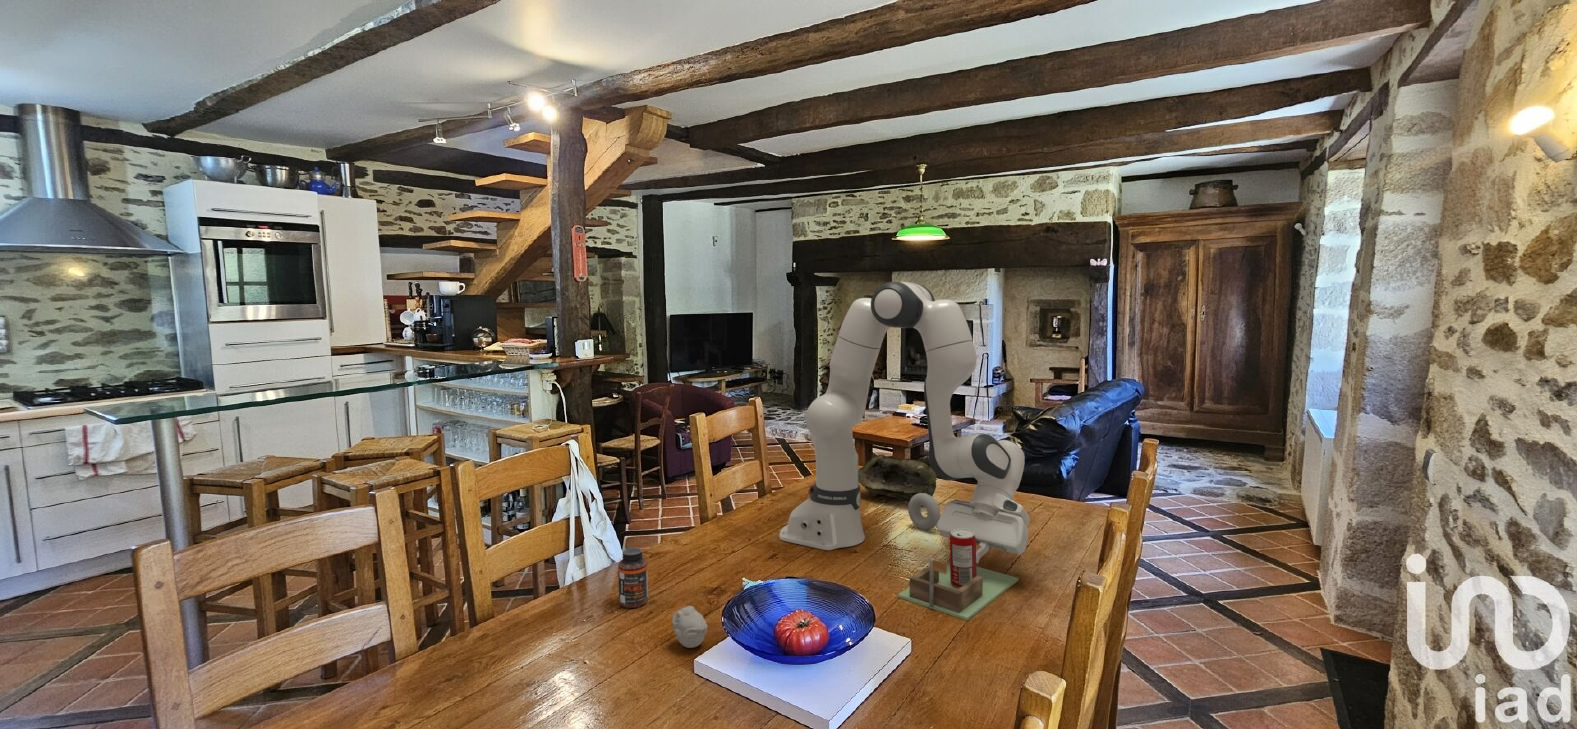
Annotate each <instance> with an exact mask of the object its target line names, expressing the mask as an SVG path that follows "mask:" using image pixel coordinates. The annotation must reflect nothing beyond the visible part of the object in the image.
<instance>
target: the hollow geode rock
mask: <svg viewBox="0 0 1577 729" xmlns="http://www.w3.org/2000/svg"><path fill="white" fill-rule="evenodd" d="M937 478H939V477H938V476H937V475H936V474H935V473H934V471H933V470H932V468H931V466H930V464H927V463H926V462H925V461H923V460H918V459H915V458H895V457H893V456H891V457H890V456H885V455H884V454H878V455H874V456H873V457H870V459H869V460H868V461H867V462H866V463H865V465H864V466H862V467H860V468H858V479H859V485H860V486H863V487H864V489H866V490H867V491H868V492H869V495H870V497H876V496H877V495H883V496H887V497H893V498H897V499H898V500H899V501H900V502H901V501H902V502H905V503H908V504H909V502H910V500H911V498H912V497H913V496H914V495H916V494H918V493H926V494H928V495H930V496H932V497H933V495H934V494H935V491H936V488H937V481H938V479H937ZM922 507H923V508H925V507H924V506H921V508H922Z"/></svg>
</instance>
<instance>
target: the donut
mask: <svg viewBox="0 0 1577 729" xmlns="http://www.w3.org/2000/svg"><path fill="white" fill-rule="evenodd" d="M922 506H924V507H923V508H925V510H926V512H927V514H926V517H925V516H924V515H923V514H922V511H921V510H922V509H921V508H922ZM907 509H908V510H907V511H908V516H909V518H910V520H911V522H912V523H913V524H914V525H915V526H916V527H917V528H919V529H920V530H922V531H929V530H932V529H934V528H935V527H936V525H937V522H938V520H939V518H940V516H941V509H940V505H939V504H938V502H937V501H936V499H935V498H934V497H933V496H930V495H928V494H926V493H918V494H916V495H914V496H913V497H912V498H911V500H910V502H909V503H908V505H907Z"/></svg>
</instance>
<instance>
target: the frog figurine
mask: <svg viewBox="0 0 1577 729" xmlns="http://www.w3.org/2000/svg"><path fill="white" fill-rule="evenodd" d="M671 625H672V628H673V632H674V635H676V637H677V638H676V639H677V641H678V642H679V644H681V645H682V646H683V647H684V648H689V649H694V648H696V647H698V646H700V645H701V644H702V642H703V641H704V640H705V636H706V634H707V633H708V628H709V627H708V624H707V621H706V620H705V618H704V616H703V615H702V614H701V613H700V612H699V611H698V610H696V609H695V607H694V606H692V605H688V606H686V607H682V608H680V609H679V610H677V611H675V613H674V614H673V616H672V621H671Z"/></svg>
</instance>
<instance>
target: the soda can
mask: <svg viewBox="0 0 1577 729" xmlns="http://www.w3.org/2000/svg"><path fill="white" fill-rule="evenodd" d="M976 551H977V544H976V538H975V535H974V532H973V531H972V530H969V529H963V528H960V529H954V530H952V531H951V535H950V538H949V562H950V579H951V583H952V584H953V585H954V586H955V587H957V588H961V587H962V586H963V585H965V584H966V583H968V582H969V581H970V580H972V579H973V578H975V577H976V576H977V567H978V566H977V563H976Z"/></svg>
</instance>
